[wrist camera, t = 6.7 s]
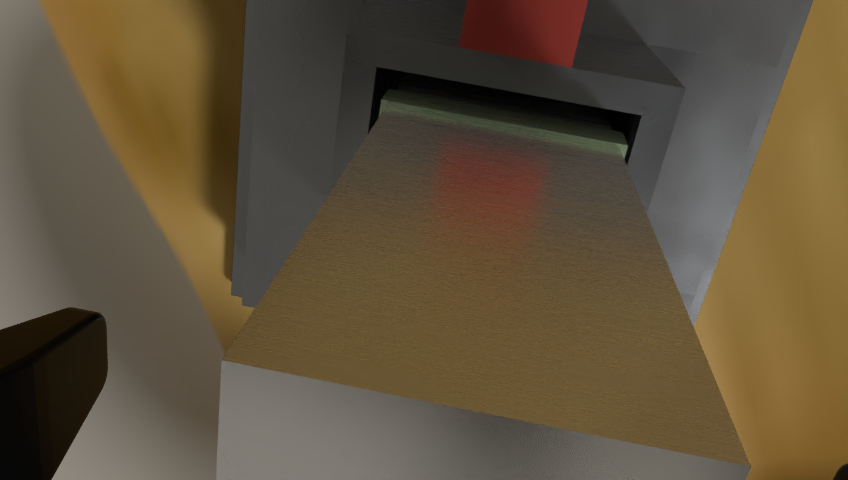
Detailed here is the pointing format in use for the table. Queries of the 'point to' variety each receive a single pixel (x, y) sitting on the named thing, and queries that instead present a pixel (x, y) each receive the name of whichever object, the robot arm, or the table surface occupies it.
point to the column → (476, 313)
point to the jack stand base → (523, 73)
